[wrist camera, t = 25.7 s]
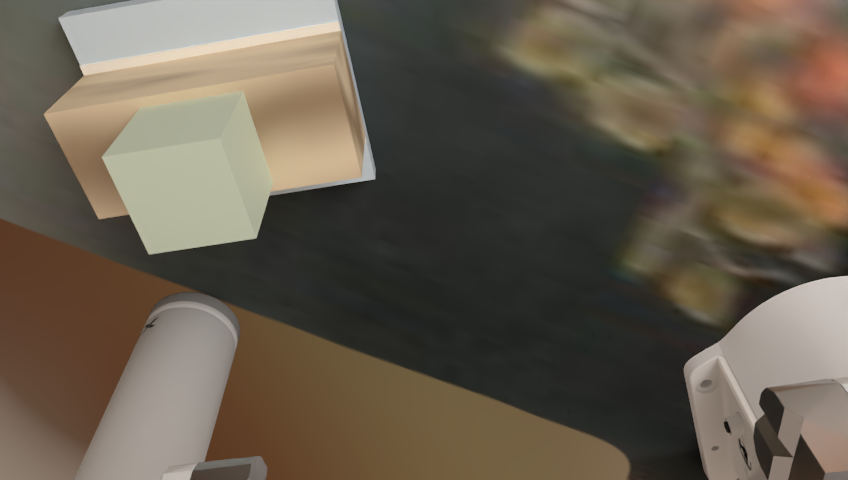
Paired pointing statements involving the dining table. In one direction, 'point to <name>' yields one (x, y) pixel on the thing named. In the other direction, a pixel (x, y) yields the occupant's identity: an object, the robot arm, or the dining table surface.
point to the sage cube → (191, 173)
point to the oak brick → (221, 74)
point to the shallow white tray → (199, 37)
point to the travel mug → (166, 392)
